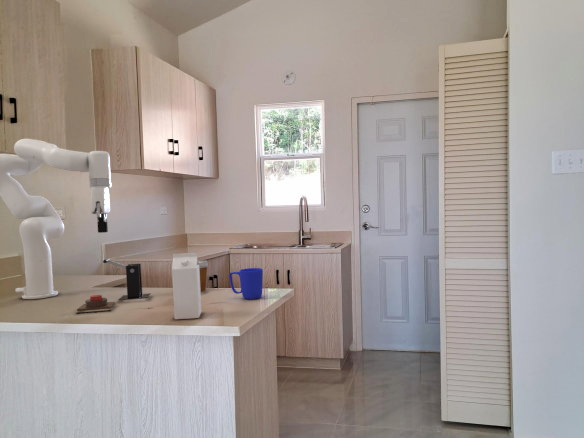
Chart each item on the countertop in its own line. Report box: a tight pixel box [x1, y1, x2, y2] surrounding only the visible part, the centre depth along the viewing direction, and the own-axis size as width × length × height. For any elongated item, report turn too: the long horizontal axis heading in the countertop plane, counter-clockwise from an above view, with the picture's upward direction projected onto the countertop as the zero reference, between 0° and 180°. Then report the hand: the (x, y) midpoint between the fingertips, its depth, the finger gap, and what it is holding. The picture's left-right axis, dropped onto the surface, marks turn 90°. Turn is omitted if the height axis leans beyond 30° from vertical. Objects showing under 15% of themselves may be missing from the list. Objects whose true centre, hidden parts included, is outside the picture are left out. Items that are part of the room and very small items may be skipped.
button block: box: [76, 297, 116, 315], centre depth 155 cm, size 10×8×4 cm
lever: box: [102, 257, 127, 270], centre depth 169 cm, size 12×5×2 cm, turn 99°
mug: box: [228, 267, 264, 300], centre depth 164 cm, size 8×12×10 cm
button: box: [89, 294, 103, 301], centre depth 155 cm, size 4×4×2 cm
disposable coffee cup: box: [198, 259, 209, 292], centre depth 178 cm, size 10×10×12 cm
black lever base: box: [118, 263, 151, 301], centre depth 170 cm, size 10×8×13 cm
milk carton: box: [171, 252, 202, 320], centre depth 140 cm, size 7×7×19 cm
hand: (102, 232), depth 177 cm, fingers closed
